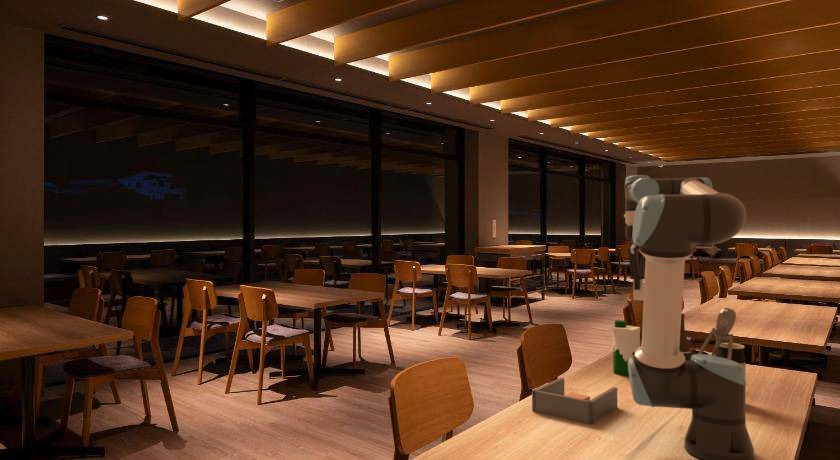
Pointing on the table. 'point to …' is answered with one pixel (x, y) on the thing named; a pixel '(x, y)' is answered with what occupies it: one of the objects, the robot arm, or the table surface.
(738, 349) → the travel mug
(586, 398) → the tile block
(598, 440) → the table surface
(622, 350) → the milk carton
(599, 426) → the table surface
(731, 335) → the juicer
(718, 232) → the robot arm
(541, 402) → the bin
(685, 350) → the beer bottle
